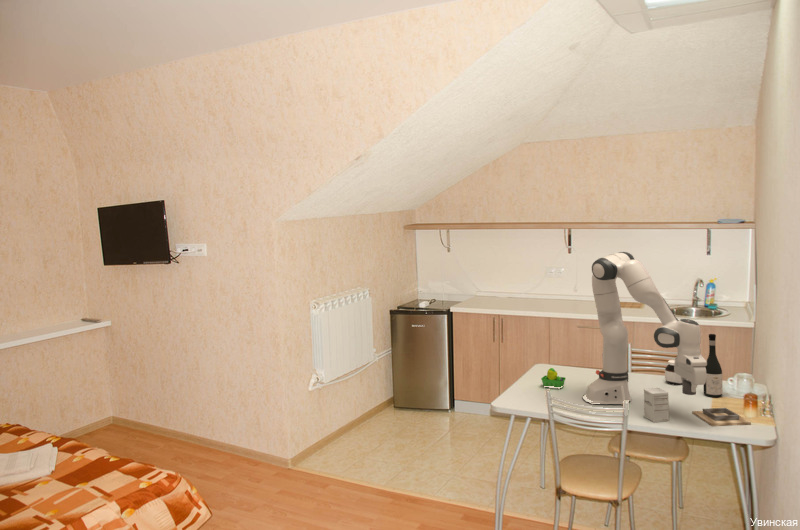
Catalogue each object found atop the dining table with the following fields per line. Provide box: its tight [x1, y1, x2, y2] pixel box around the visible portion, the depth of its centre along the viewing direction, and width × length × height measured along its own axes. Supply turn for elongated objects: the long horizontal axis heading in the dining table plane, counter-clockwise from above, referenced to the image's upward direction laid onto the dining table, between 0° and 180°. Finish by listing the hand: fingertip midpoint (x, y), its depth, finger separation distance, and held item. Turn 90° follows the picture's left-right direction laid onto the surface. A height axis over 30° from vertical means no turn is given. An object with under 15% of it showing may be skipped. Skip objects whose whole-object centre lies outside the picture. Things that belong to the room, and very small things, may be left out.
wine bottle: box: [703, 333, 723, 398], centre depth 269 cm, size 8×8×30 cm
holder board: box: [692, 407, 752, 427], centre depth 238 cm, size 16×16×3 cm
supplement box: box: [643, 387, 669, 423], centre depth 241 cm, size 7×7×13 cm
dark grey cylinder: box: [682, 380, 697, 396], centre depth 238 cm, size 5×5×5 cm
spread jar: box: [664, 359, 682, 386], centre depth 295 cm, size 12×11×12 cm
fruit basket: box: [540, 367, 566, 387], centre depth 295 cm, size 11×9×11 cm
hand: (689, 389), depth 238 cm, fingers closed on dark grey cylinder, 5 cm apart
